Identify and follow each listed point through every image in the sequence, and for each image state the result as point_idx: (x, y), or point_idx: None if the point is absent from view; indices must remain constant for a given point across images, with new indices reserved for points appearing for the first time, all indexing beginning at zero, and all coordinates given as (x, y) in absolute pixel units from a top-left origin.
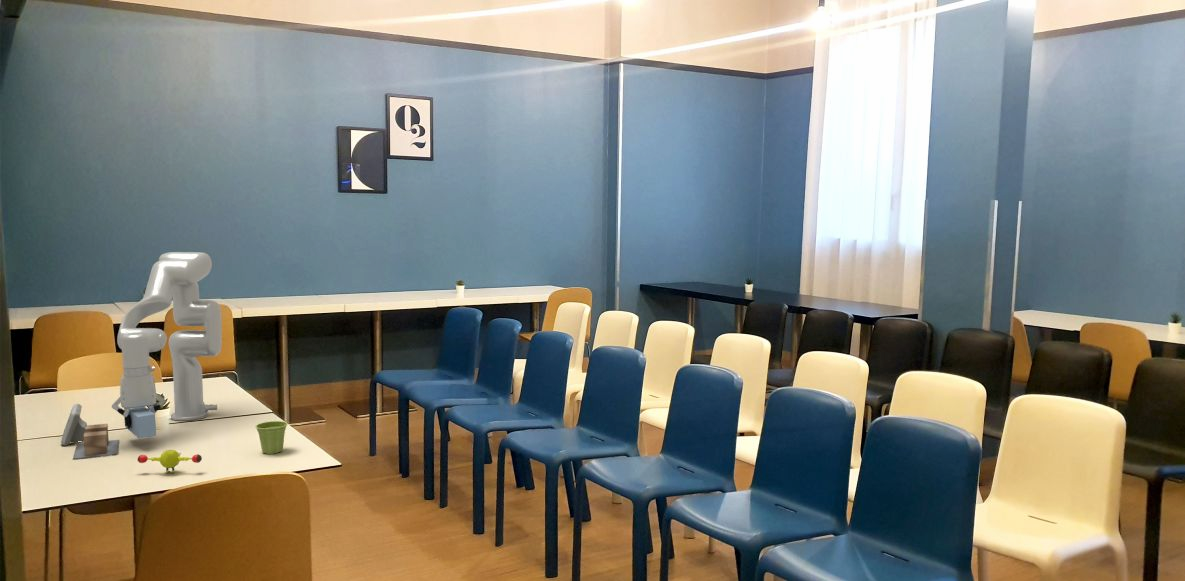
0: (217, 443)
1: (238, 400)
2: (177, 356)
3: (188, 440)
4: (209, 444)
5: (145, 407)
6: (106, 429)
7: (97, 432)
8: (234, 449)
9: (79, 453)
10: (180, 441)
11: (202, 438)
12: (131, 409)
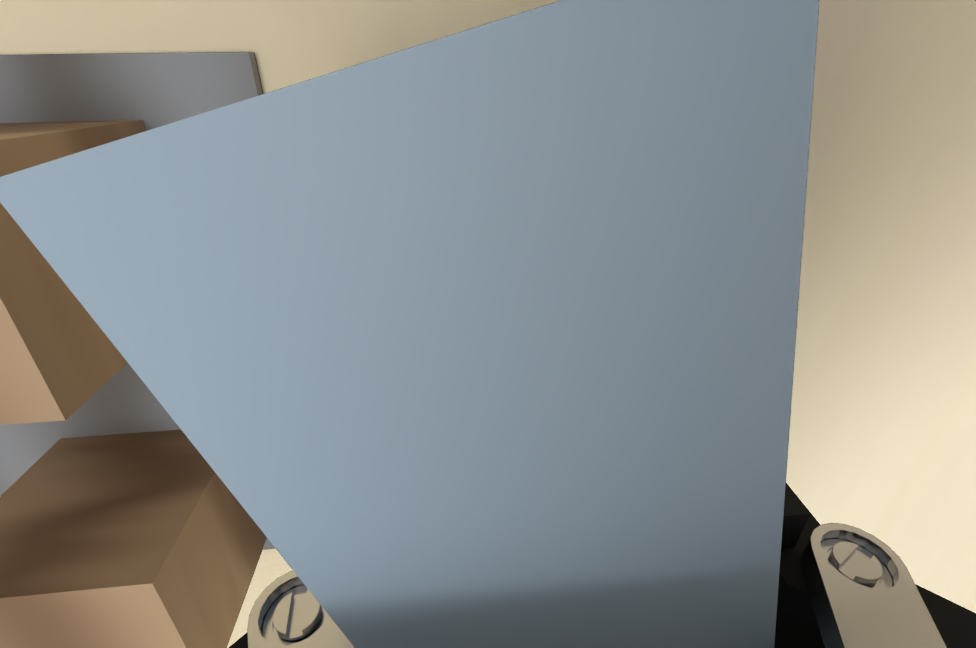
0: (963, 465)
1: None
2: None
3: (859, 325)
4: (915, 471)
5: (776, 548)
6: (80, 398)
7: (66, 624)
8: (955, 587)
9: (28, 468)
10: (799, 333)
11: (968, 303)
12: (421, 623)
